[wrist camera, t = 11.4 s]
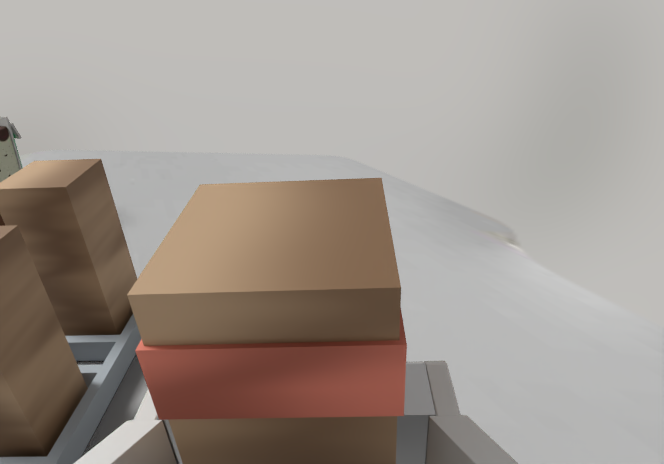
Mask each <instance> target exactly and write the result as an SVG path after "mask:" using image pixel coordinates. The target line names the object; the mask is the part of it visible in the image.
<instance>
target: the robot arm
mask: <svg viewBox="0 0 664 464" xmlns="http://www.w3.org/2000/svg"><path fill="white" fill-rule="evenodd" d="M73 464H183V463H182V460H181V457H180V454H179V451H178V448H177V445H176V442H175V439H174V436H173V432H172V429H171V426H170V423H169V420H159V418H158V415H157V412H156V409H155V407H154V404H153V401H152V398H151V395H150V392H149V389H148V390H147V392H146V394H145V396H144V398H143V400H142V403H141V405H140V407H139V409H138V411H137V413H136V415H135V418H134V420H127V421H126V422H125V423H123V424H122V425H121V426H120V427H118V428H117V429H116V430H115V431H113V432H112V433H111V434H110V435H108V436H107V437H106V438H105V439H103V440H102V441H101V442H100V443H98V444H97V445H96V446H95V447H93V448H92V449H91V450H90V451H88V452H87V453H86V454H85V455H83V456H82V457H81V458H80V459H78V460H77V461H76V462H75V463H73ZM396 464H518V463H517V462H516V461H515V460H514V459H513V458H512V457H511V456H510V455H509V454H507V453H506V452H505V451H504V450H503V449H502V448H501V447H500V446H499V445H498V444H497V443H496V442H495V441H494V440H493V439H491V438H490V437H489V436H488V435H487V434H486V433H485V432H484V431H483V430H482V429H481V428H480V427H479V426H478V425H477V424H476V423H474V422H473V421H472V420H471V419H470V418H469V417H468V416H467V415H460V411H459V407H458V403H457V400H456V396H455V392H454V388H453V385H452V381H451V377H450V373H449V370H448V366H447V363H446V362H445V361H425V362H423V361H420V362H406V375H405V401H404V416H397V441H396Z"/></svg>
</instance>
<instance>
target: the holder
mask: <svg viewBox="0 0 664 464" xmlns="http://www.w3.org/2000/svg"><path fill="white" fill-rule="evenodd" d="M65 337H66V339H67V341H68V344H69V346H70V348H71V351H72V353H73V355H74V358H75V360H76V361H104V363H103V364H101V365H78V367H79V369H80V372H81V374H82V376H83V379H84V381H85V383H86V386H87V388H88V389H87V391H86V393H85V394H84V396H83V398H82V399H81V401H80V403H79V404H78V406H77V408H76V409H75V411H74V413H73V414H72V416H71V418H70V419H69V421H68V423H67V424H66V426H65V428H64V429H63V431H62V432H61V434H60V436H59V437H58V439H57V441H56V442H55V444H54V446H53V447H52V449H51V451H50V452H49V454H48V456H47V457H0V464H73V463H75V462H76V461H77V460H78V459H80V458H81V456H82V454H83V452H84V451H85V449H86V447H87V445H88V443H89V441H90V439H91V437H92V435H93V434H94V432H95V430H96V428H97V426H98V424H99V422H100V420H101V419H102V417H103V415H104V413H105V411H106V409H107V407H108V405H109V404H110V402H111V400H112V398H113V396H114V394H115V392H116V390H117V388H118V387H119V385H120V383H121V381H122V379H123V377H124V375H125V373H126V372H127V370H128V368H129V366H130V364H131V362H132V360H133V358H134V357H135V355H136V352H135V350H136V348H137V346H138V344H139V343H140V341H141V336H140V333H139V330H138V327H137V324H136V321H135V318H134V315H133V314H132V316H131V318H130V319H129V321H128V323H127V324H126V326H125V328H124V329H123V331H122V333H121V334H120V335H80V336H65Z"/></svg>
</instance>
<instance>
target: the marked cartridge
mask: <svg viewBox="0 0 664 464" xmlns="http://www.w3.org/2000/svg"><path fill="white" fill-rule="evenodd" d="M127 296H128V299H129V302H130V305H131V308H132V311H133V315H134V318H135V321H136V324H137V327H138V330H139V333H140V336H141V341H140V343H139V344H138V346H137V348H136V350H135V352H136V354H137V357H138V360H139V363H140V366H141V369H142V372H143V375H144V378H145V380H146V383H147V386H148V389H149V392H150V395H151V398H152V401H153V404H154V407H155V409H156V412H157V415H158V418H159V420H169V423H170V426H171V429H172V432H173V436H174V439H175V442H176V445H177V448H178V451H179V454H180V457H181V460H182V463H183V464H396V441H397V416H404V401H405V375H406V349H407V344H406V338H405V332H404V326H403V320H402V314H401V308H400V300H401V286H400V280H399V274H398V269H397V263H396V257H395V252H394V246H393V240H392V235H391V229H390V224H389V218H388V212H387V207H386V201H385V195H384V190H383V184H382V179H381V178H364V179H337V180H310V181H283V182H256V183H229V184H202V185H199V187H198V188H197V190H196V191H195V193H194V195H193V196H192V198H191V199H190V201H189V202H188V204H187V205H186V207H185V208H184V210H183V211H182V213H181V214H180V216H179V217H178V219H177V220H176V222H175V223H174V225H173V226H172V228H171V229H170V231H169V232H168V234H167V235H166V237H165V238H164V240H163V241H162V243H161V244H160V246H159V247H158V249H157V250H156V252H155V253H154V255H153V256H152V258H151V259H150V261H149V262H148V264H147V265H146V267H145V268H144V270H143V271H142V273H141V274H140V276H139V278H138V279H137V281H136V282H135V284H134V285H133V287H132V288H131V290H130V291H129V293H128V294H127Z"/></svg>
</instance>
